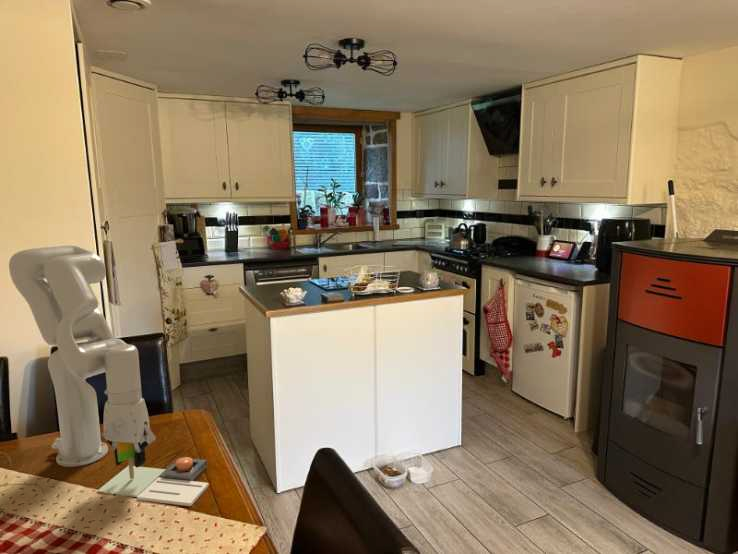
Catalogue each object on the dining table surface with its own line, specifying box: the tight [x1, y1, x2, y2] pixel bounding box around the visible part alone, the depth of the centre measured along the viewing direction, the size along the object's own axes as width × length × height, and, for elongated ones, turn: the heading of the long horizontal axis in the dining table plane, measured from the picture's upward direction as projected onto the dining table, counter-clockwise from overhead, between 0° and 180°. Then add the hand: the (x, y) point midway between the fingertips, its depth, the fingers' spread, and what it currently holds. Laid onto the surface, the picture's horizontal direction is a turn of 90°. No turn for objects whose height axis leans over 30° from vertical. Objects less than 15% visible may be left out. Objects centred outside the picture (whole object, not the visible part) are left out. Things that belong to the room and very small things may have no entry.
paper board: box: [136, 477, 210, 507], centre depth 125 cm, size 14×9×1 cm, turn 79°
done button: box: [175, 456, 193, 472], centre depth 133 cm, size 4×4×2 cm
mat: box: [96, 465, 167, 498], centre depth 130 cm, size 11×12×1 cm
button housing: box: [161, 456, 208, 481], centre depth 133 cm, size 8×8×2 cm
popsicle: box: [116, 442, 141, 479], centre depth 128 cm, size 6×2×15 cm, turn 127°
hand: (130, 462), depth 129 cm, fingers closed on popsicle, 4 cm apart
